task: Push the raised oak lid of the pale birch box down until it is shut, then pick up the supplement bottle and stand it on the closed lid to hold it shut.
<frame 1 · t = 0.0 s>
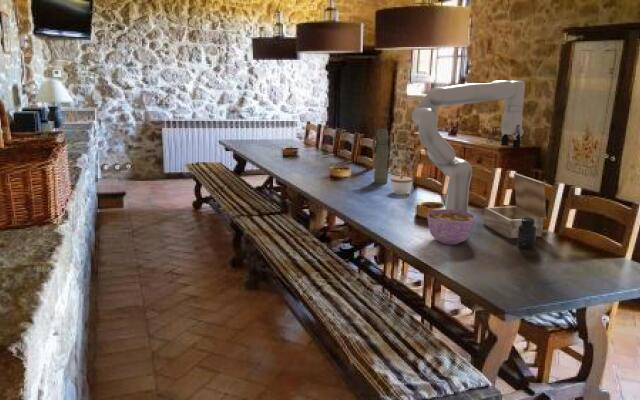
hand: (510, 147, 229), 37 cm above the table, tool pointing down, fingers open, 9 cm apart
lidded bowl: (400, 193, 301), on the table
lid: (529, 195, 227), point 16 cm above the table, hinge at 80.0°
supplement bottle: (525, 247, 206), on the table
box: (511, 229, 230), on the table
bowl of food: (449, 242, 213), on the table
thermos: (380, 182, 331), on the table
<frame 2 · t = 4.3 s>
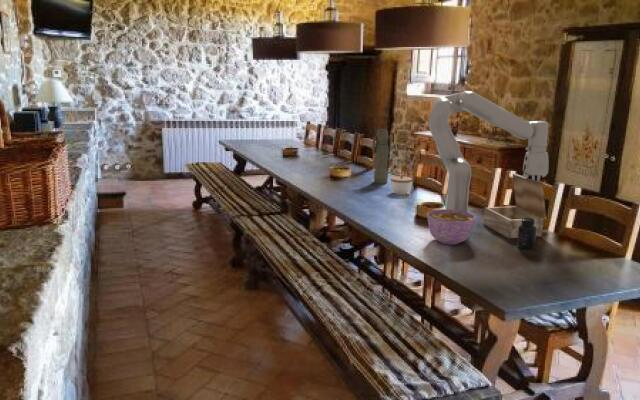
hand: (533, 189, 227), 18 cm above the table, tool pointing down, fingers closed
lid: (528, 195, 227), point 16 cm above the table, hinge at 77.3°, touching gripper
everything else where it was.
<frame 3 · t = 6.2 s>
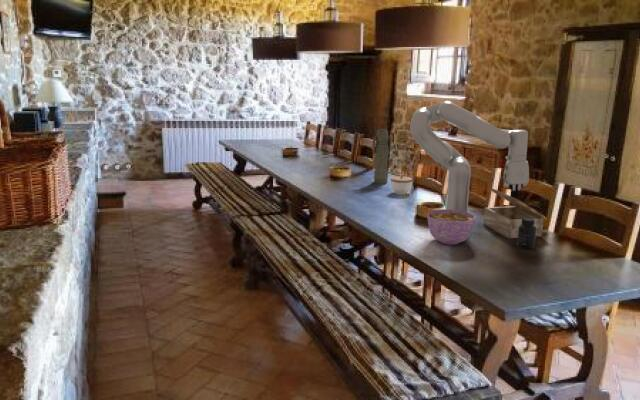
hand: (514, 198, 226), 15 cm above the table, tool pointing down, fingers closed
lid: (516, 202, 227), point 13 cm above the table, hinge at 30.5°, touching gripper
everything else where it was.
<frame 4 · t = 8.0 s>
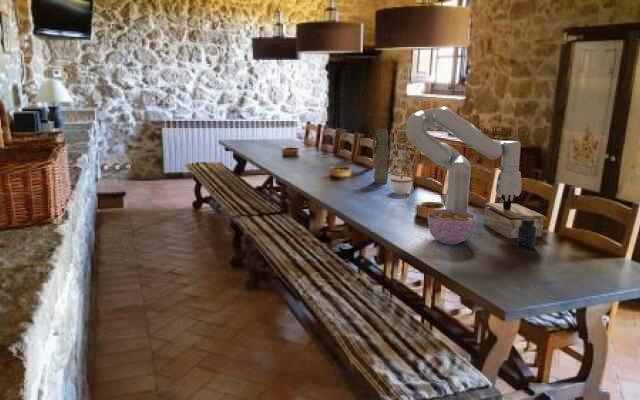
hand: (506, 209, 226), 10 cm above the table, tool pointing down, fingers closed
lid: (513, 210, 227), point 9 cm above the table, hinge at 3.5°, touching gripper
everything else where it was.
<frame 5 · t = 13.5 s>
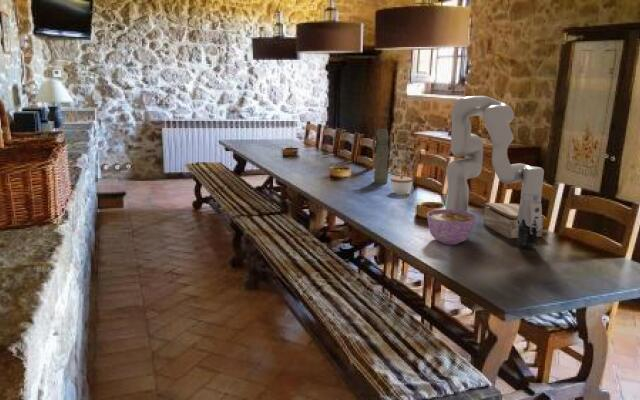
hand: (526, 239, 206), 3 cm above the table, tool pointing down, fingers closed on supplement bottle, 6 cm apart
lid: (513, 210, 227), point 9 cm above the table, hinge at 3.3°
supplement bottle: (525, 247, 206), on the table, touching gripper
everything else where it was.
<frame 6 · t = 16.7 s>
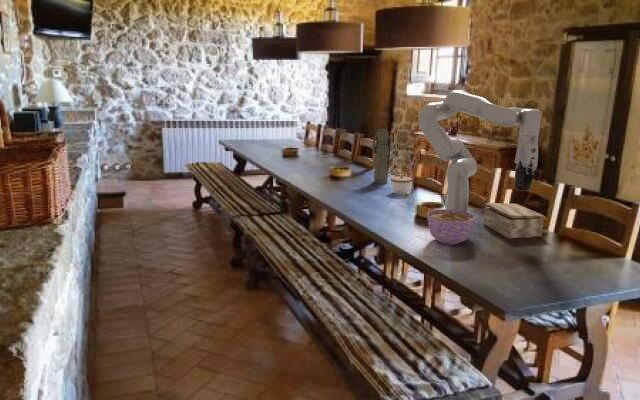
hand: (522, 181, 212), 25 cm above the table, tool pointing down, fingers closed on supplement bottle, 6 cm apart
supplement bottle: (522, 189, 213), point 22 cm above the table, touching gripper
everything else where it was.
when the fingers open (14 cm above the table, at t = 20.2 s): supplement bottle stays where it is, resting on lid.
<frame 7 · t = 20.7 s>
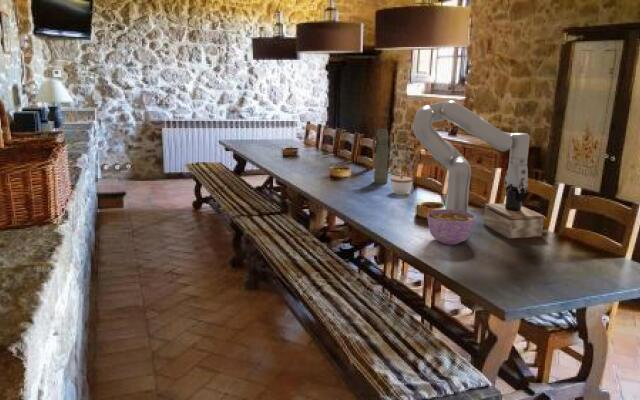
hand: (514, 198, 226), 15 cm above the table, tool pointing down, fingers open, 9 cm apart
lid: (513, 210, 227), point 9 cm above the table, hinge at 2.1°, touching supplement bottle
supplement bottle: (512, 209, 228), point 9 cm above the table, touching lid
everything else where it was.
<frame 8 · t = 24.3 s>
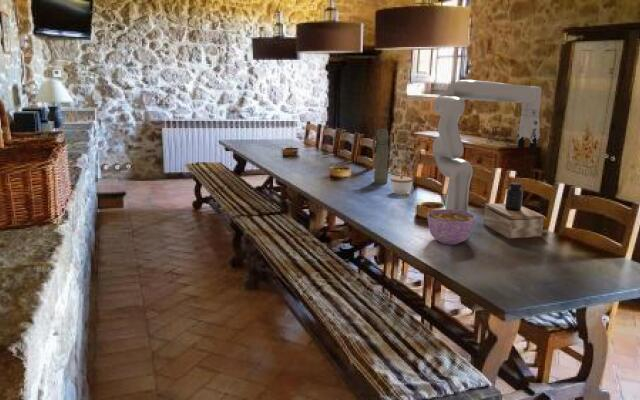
hand: (526, 149, 238), 34 cm above the table, tool pointing down, fingers open, 9 cm apart
nothing on the table moved.
at the end: lid at +2° (first picture: +80°); supplement bottle inside the target area on the box (0.4 cm from its centre), point 9.4 cm above the box's base; supplement bottle tilted 2° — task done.
